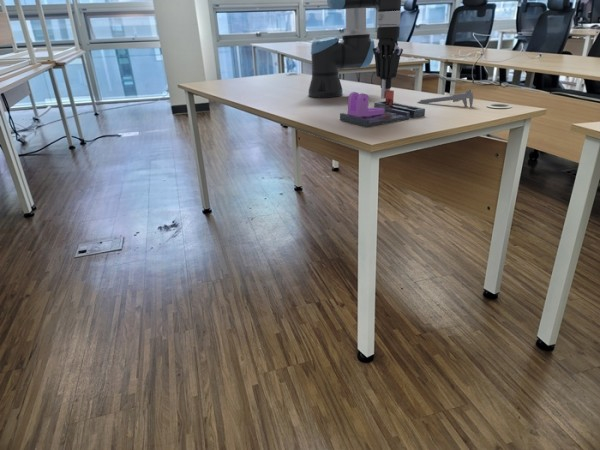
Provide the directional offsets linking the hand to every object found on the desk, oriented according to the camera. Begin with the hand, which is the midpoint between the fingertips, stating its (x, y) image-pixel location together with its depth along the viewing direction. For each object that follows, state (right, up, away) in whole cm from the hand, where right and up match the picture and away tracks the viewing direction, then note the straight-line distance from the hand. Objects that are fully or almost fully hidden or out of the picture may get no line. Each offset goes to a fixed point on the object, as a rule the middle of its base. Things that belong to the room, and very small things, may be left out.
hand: (385, 98), depth 152 cm
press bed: (-6, -11, -12) cm, 17 cm away
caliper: (+23, -1, +6) cm, 24 cm away
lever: (+3, -5, -3) cm, 7 cm away
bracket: (-8, -9, -12) cm, 17 cm away
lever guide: (+4, -6, -4) cm, 8 cm away
